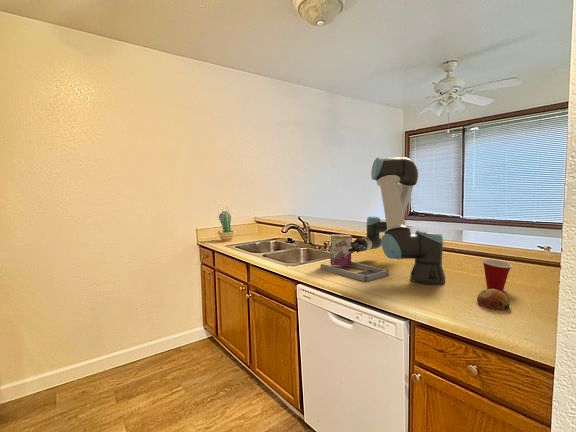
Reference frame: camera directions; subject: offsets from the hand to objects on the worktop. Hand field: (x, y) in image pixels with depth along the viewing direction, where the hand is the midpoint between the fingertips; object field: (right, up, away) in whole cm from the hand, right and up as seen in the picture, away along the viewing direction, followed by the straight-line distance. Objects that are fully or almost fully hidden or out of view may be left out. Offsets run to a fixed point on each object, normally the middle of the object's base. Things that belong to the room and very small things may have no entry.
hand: (335, 249), depth 168 cm
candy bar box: (+3, -9, +3) cm, 10 cm away
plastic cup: (+63, -14, -35) cm, 73 cm away
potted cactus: (-77, -3, +92) cm, 120 cm away
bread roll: (+51, -16, -53) cm, 75 cm away
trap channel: (+8, -11, -5) cm, 15 cm away
